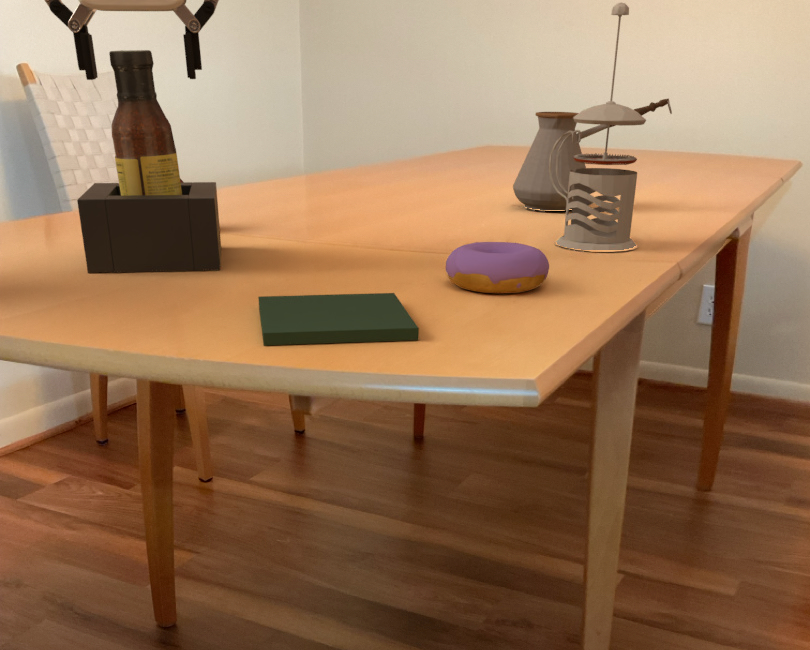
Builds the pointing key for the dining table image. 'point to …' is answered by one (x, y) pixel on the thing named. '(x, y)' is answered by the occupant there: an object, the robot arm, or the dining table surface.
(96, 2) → the robot arm
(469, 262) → the donut
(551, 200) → the coffee pot
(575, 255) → the dining table surface
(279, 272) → the dining table surface
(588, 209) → the french press
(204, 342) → the dining table surface
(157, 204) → the black open-top box
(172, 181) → the sauce bottle
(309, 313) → the mat
